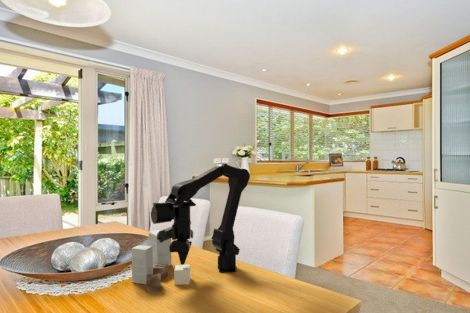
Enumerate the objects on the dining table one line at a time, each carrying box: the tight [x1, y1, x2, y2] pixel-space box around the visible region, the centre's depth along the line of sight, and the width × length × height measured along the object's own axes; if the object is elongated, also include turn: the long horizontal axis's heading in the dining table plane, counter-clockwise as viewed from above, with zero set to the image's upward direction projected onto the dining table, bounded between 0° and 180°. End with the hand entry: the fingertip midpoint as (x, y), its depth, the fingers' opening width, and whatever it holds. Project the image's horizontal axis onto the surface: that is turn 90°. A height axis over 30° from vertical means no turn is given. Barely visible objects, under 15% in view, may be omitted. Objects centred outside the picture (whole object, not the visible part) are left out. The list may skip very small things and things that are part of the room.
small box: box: [148, 229, 172, 267], centre depth 121 cm, size 8×6×13 cm
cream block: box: [173, 264, 191, 286], centre depth 105 cm, size 5×5×5 cm
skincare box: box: [131, 244, 153, 285], centre depth 105 cm, size 6×4×12 cm
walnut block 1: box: [153, 263, 169, 280], centre depth 110 cm, size 4×4×4 cm
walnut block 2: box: [145, 274, 162, 293], centre depth 100 cm, size 4×4×4 cm
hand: (182, 264), depth 105 cm, fingers closed
